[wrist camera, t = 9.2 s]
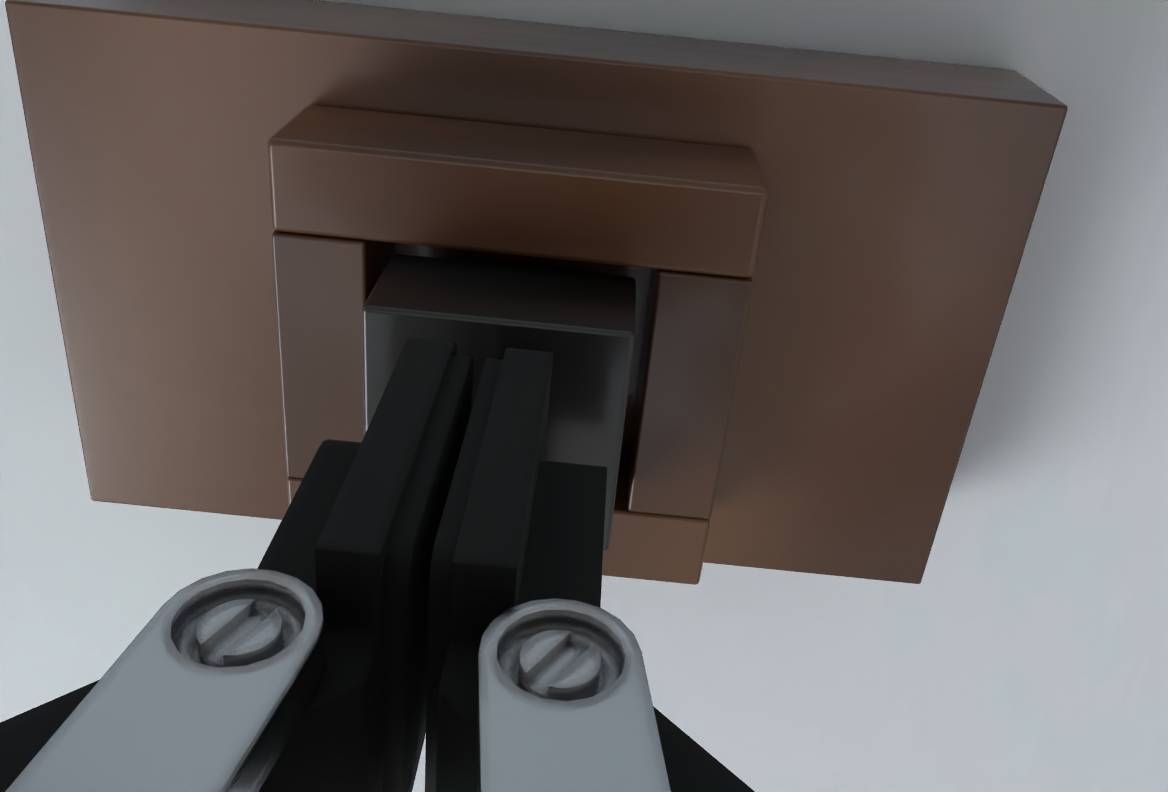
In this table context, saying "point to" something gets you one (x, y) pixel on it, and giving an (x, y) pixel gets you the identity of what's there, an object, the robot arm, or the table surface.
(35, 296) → the table surface
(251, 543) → the table surface
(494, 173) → the key block
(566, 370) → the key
